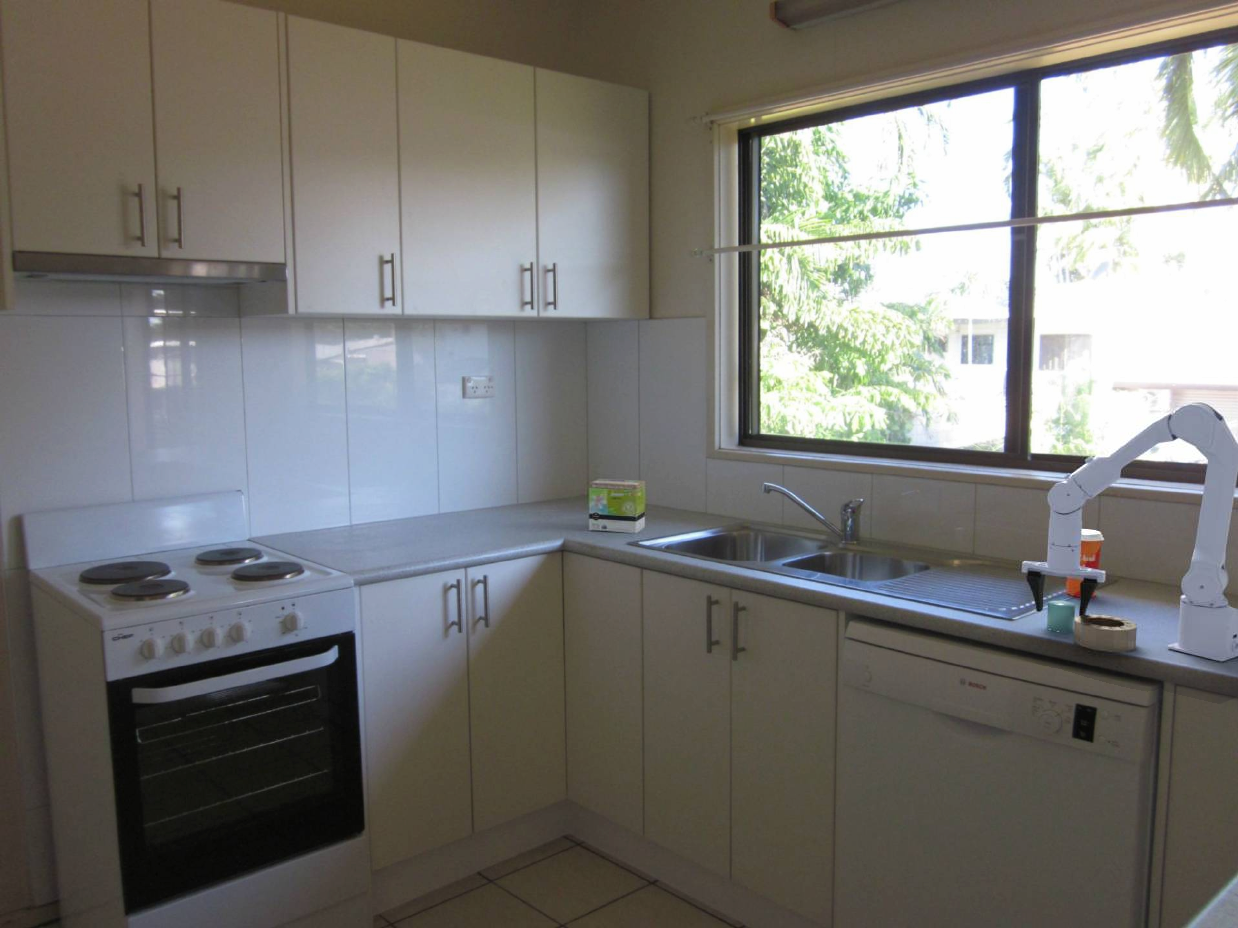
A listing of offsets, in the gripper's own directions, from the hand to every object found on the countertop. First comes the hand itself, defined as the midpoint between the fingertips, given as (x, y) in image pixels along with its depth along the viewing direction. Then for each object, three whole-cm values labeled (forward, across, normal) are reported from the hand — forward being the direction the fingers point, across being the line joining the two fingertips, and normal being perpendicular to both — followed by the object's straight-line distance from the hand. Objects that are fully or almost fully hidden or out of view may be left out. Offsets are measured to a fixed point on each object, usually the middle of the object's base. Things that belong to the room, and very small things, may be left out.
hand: (1060, 613), depth 188 cm
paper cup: (+3, +2, -31) cm, 31 cm away
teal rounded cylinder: (+3, 0, 0) cm, 3 cm away
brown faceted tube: (+3, -9, +5) cm, 11 cm away
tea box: (+4, +132, -34) cm, 137 cm away
